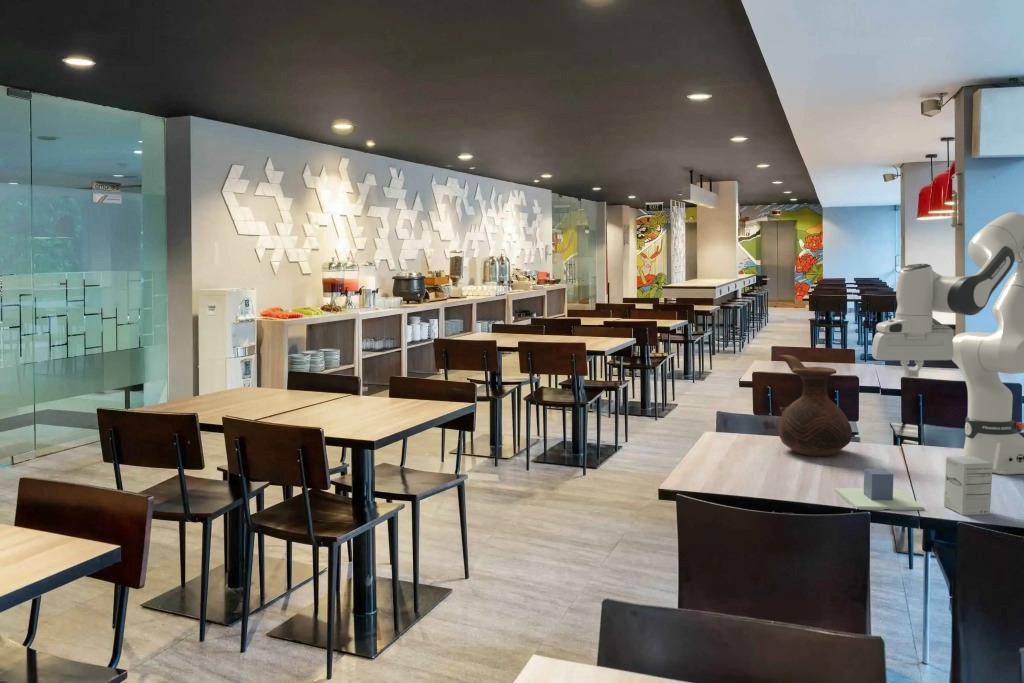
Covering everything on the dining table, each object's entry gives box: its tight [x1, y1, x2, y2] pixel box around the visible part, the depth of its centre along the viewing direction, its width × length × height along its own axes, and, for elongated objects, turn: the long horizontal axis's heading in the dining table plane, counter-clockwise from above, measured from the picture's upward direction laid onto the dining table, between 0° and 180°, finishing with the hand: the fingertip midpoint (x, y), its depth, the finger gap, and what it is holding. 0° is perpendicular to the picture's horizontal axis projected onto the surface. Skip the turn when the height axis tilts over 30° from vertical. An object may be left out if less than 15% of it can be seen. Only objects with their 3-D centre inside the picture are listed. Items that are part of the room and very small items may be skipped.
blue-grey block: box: [863, 468, 895, 500], centre depth 205 cm, size 5×5×7 cm
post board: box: [834, 487, 925, 511], centre depth 205 cm, size 16×16×6 cm
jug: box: [777, 354, 853, 457], centre depth 256 cm, size 22×22×30 cm
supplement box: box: [943, 455, 993, 516], centre depth 196 cm, size 7×7×13 cm
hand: (911, 376), depth 218 cm, fingers closed
